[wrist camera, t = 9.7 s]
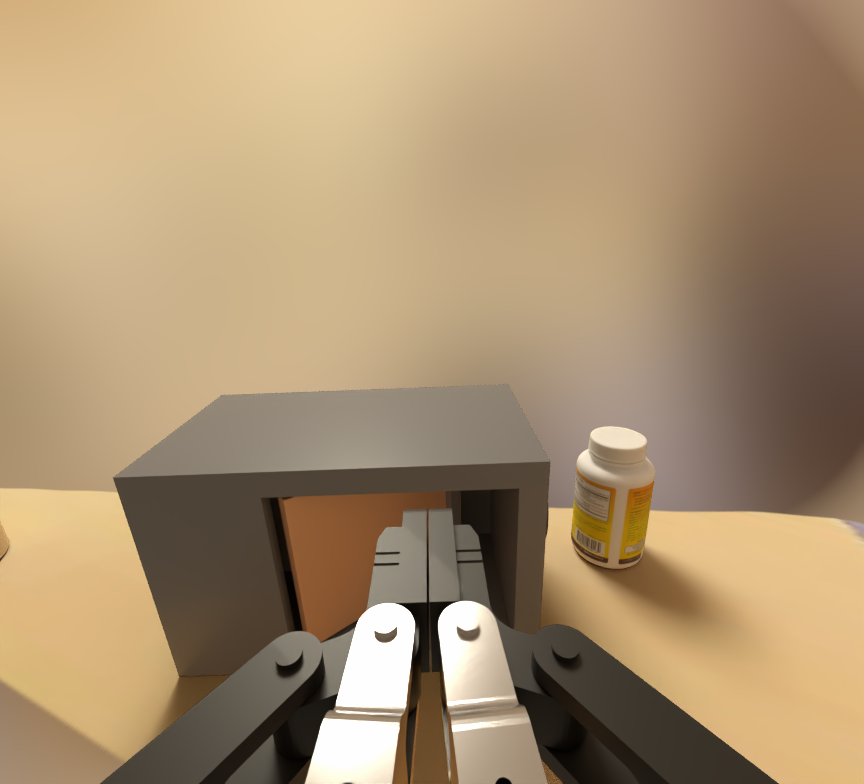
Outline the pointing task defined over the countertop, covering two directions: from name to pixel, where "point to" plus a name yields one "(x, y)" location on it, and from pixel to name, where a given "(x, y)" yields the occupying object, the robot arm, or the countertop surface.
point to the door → (344, 549)
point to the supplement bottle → (612, 498)
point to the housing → (320, 476)
